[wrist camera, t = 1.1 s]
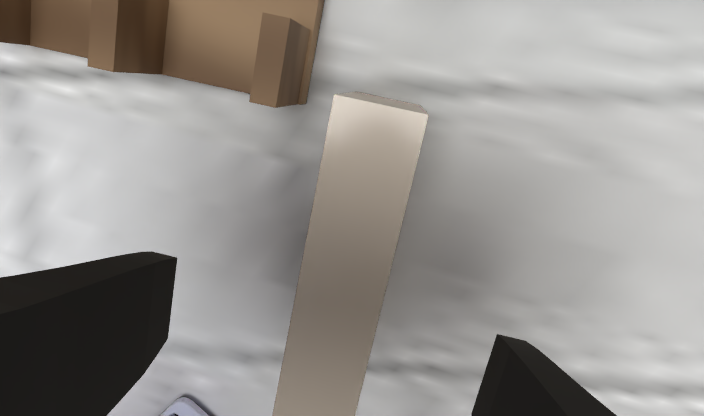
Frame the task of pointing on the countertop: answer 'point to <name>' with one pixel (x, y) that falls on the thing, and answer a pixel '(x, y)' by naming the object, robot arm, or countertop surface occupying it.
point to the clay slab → (348, 252)
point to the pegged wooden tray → (181, 39)
